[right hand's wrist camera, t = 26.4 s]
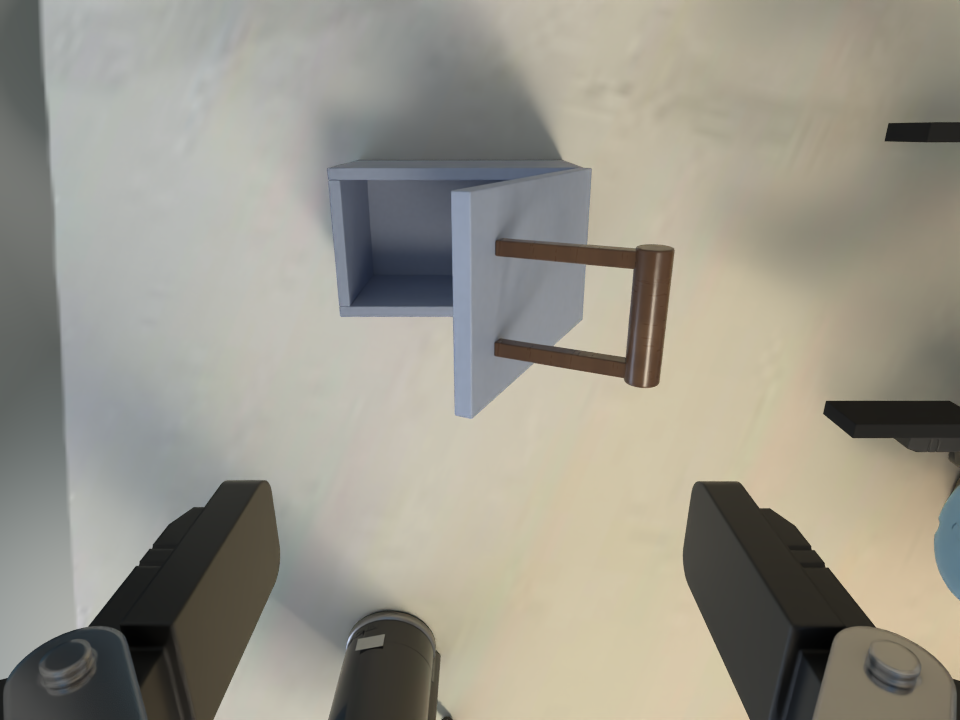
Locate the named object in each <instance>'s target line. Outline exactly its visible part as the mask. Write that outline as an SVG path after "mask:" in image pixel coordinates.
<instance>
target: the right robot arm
mask: <svg viewBox="0 0 960 720" xmlns="http://www.w3.org/2000/svg"><path fill="white" fill-rule="evenodd" d="M279 564H280V546H279V539H278V532H277V525H276V518H275V511H274V504H273V497H272V491H271V487H270V485H269V483H268V482H267V481H265V480H226V481H224V482H223V483H222V484H221V485H220V486H219V488H218V489H217V491H216V492H215V493H214V495H213V496H212V497H211V499H210V500H209V502H208V503H207V504H206V506H205V507H193V508H192V509H191V510H189V511H188V512H186V513H185V514H183V515H182V516H180V517H179V518H178V519H176V520H175V521H173V522H172V523H170V524H169V525H168V526H167V528H166V529H165V530H164V531H163V533H162V534H161V535H160V536H159V538H158V539H157V540H156V541H155V543H154V544H153V548H152V549H149V550H148V552H147V553H146V554H145V555H144V557H143V558H142V559H141V561H140V564H139V566H136V567H135V568H134V569H133V571H132V572H131V573H130V574H129V576H128V577H127V578H126V580H125V581H124V582H123V583H122V585H121V586H120V587H119V588H118V590H117V591H116V592H115V593H114V595H113V596H112V597H111V599H110V600H109V601H108V602H107V604H106V605H105V606H104V607H103V609H102V610H101V611H100V612H99V614H98V615H97V616H96V618H95V619H94V620H93V621H92V623H91V624H90V625H89V626H88V627H85V628H81V629H77V630H73V631H70V632H67V633H65V634H62V635H60V636H58V637H55V638H53V639H51V640H50V641H48V642H46V643H44V644H42V645H41V646H39V647H38V648H36V649H35V650H34V651H32V652H31V653H30V654H28V655H27V656H26V657H25V658H24V659H23V660H22V661H21V662H20V663H19V664H18V665H17V666H16V667H15V668H14V670H13V671H12V672H11V674H10V675H9V677H8V678H6V679H2V680H0V720H213V719H214V717H215V715H216V713H217V710H218V708H219V706H220V704H221V701H222V699H223V697H224V695H225V693H226V690H227V688H228V686H229V684H230V682H231V679H232V677H233V675H234V673H235V671H236V668H237V666H238V664H239V662H240V660H241V657H242V655H243V653H244V651H245V648H246V646H247V644H248V642H249V640H250V637H251V635H252V633H253V631H254V629H255V626H256V624H257V622H258V620H259V618H260V615H261V613H262V611H263V609H264V606H265V604H266V602H267V600H268V598H269V595H270V593H271V591H272V589H273V587H274V584H275V582H276V579H277V575H278V571H279ZM683 565H684V572H685V576H686V580H687V583H688V585H689V588H690V590H691V592H692V594H693V596H694V599H695V601H696V603H697V605H698V607H699V609H700V612H701V614H702V616H703V618H704V620H705V623H706V625H707V627H708V629H709V631H710V633H711V636H712V638H713V640H714V642H715V644H716V647H717V649H718V651H719V653H720V655H721V657H722V660H723V662H724V664H725V666H726V668H727V671H728V673H729V675H730V677H731V679H732V681H733V684H734V686H735V688H736V690H737V692H738V695H739V697H740V699H741V701H742V703H743V705H744V708H745V710H746V712H747V714H748V716H749V719H750V720H960V681H958V680H955V679H952V677H951V675H950V674H949V672H948V671H947V670H946V668H945V667H944V666H943V665H942V664H941V663H940V662H939V661H938V660H937V659H936V658H935V657H934V656H933V655H932V654H930V653H929V652H928V651H926V650H925V649H924V648H922V647H921V646H919V645H918V644H916V643H914V642H912V641H910V640H909V639H907V638H905V637H902V636H900V635H898V634H896V633H893V632H890V631H887V630H883V629H879V628H876V627H875V626H874V624H873V623H872V622H871V621H870V619H869V618H868V617H867V616H866V614H865V613H864V612H863V611H862V609H861V608H860V607H859V606H858V604H857V603H856V602H855V601H854V599H853V598H852V597H851V596H850V594H849V593H848V592H847V591H846V589H845V588H844V587H843V586H842V584H841V583H840V582H839V581H838V579H837V578H836V577H835V575H834V574H833V573H832V572H831V570H830V569H829V568H825V563H824V562H823V560H822V559H821V558H820V557H819V555H818V554H817V553H816V552H815V550H812V549H811V545H810V544H809V543H808V542H807V540H806V539H805V538H804V537H803V535H802V534H801V533H800V532H799V530H798V529H797V528H796V526H794V525H793V524H792V523H790V522H789V521H787V520H786V519H784V518H783V517H781V516H780V515H779V514H777V513H776V512H774V511H773V510H771V509H770V508H759V507H758V506H757V504H756V503H755V502H754V500H753V499H752V498H751V496H750V495H749V494H748V492H747V491H746V490H745V488H744V487H743V486H742V484H741V483H739V482H737V481H699V482H696V483H695V484H694V486H693V489H692V493H691V500H690V506H689V513H688V520H687V527H686V534H685V540H684V547H683ZM435 650H436V644H435V639H434V636H433V634H432V632H431V631H430V629H429V628H428V627H427V626H426V625H425V624H424V623H423V622H422V621H420V620H419V619H417V618H415V617H413V616H411V615H408V614H405V613H400V612H392V611H387V612H379V613H375V614H371V615H369V616H367V617H365V618H363V619H361V620H360V621H359V622H358V623H357V624H356V625H355V626H354V627H353V628H352V630H351V632H350V634H349V638H348V641H347V646H346V653H345V657H344V661H343V665H342V668H341V672H340V676H339V680H338V684H337V688H336V691H335V695H334V699H333V703H332V707H331V711H330V715H329V719H328V720H436V710H437V697H438V683H439V670H440V657H441V656H440V655H439V654H438V653H437V652H436V651H435ZM442 720H452V719H451V718H450V717H444V718H443V719H442Z"/></svg>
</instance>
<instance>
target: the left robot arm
mask: <svg viewBox="0 0 960 720" xmlns="http://www.w3.org/2000/svg"><path fill="white" fill-rule="evenodd" d="M885 141H897V142H960V122H928V123H889V124H888V128H887V133H886V137H885ZM823 414H824V415H825V416H827V417H828V418H829V419H830V420H831V421H833V422H834V423H835V424H836V425H837V426H839V427H840V428H841V429H842V430H844V431H845V432H846V433H847V434H848V435H850V436H851V437H852V438H894V439H895V440H897V441H898V442H900V443H901V444H902V445H904V446H905V447H906V448H908V449H910V450H913V451H915V452H927V451H928V452H935V451H936V452H949V454H948V458H949V460H950V461H951V462H952V463H954V464H955V465H956V466H958V467H959V468H960V407H959V406H958V405H956V404H954V403H952V402H951V401H826V404H825V408H824V412H823ZM939 522H940V524H939V528H938V530H937V532H936V533H935V538H934V551H935V558H936V563H937V566H938V569H939V572H940V574H941V576H942V578H943V580H944V582H945V583H946V585H947V587H948V588H949V590H950V591H951V592H952V593H953V594H954V595H955V596H956V597H957V598H958V599H959V600H960V478H959V479H958V481H957V483H956V486H955V488H954V491H953V492H952V494H951V495H950V497H949V498H948V500H947V501H946V503H945V505H944V507H943V509H942V511H941V513H940V516H939Z"/></svg>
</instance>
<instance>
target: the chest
mask: <svg viewBox="0 0 960 720" xmlns="http://www.w3.org/2000/svg"><path fill="white" fill-rule="evenodd" d="M575 168H583V167H580V166H577V165H575V164H572V163H569V162H566V161H564V160H357V161H354V162H349V163H345V164H341V165H337V166H333V167H329V168H328V169H327V170H328V179H329V181H328V182H329V193H330V205H331V216H332V228H333V239H334V250H335V262H336V273H337V285H338V296H339V306H340V307H339V308H340V316H341V317H453V274H452V218H451V191H452V190H457V189H463V188H468V187H474V186H480V185H485V184H491V183H497V182H502V181H508V180H513V179H519V178H525V177H530V176H536V175H542V174H547V173H553V172H558V171H564V170H570V169H575Z"/></svg>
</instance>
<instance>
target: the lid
mask: <svg viewBox="0 0 960 720" xmlns="http://www.w3.org/2000/svg"><path fill="white" fill-rule="evenodd" d="M591 173H592V169H591V168H575V169H570V170H564V171H558V172H553V173H547V174H542V175H536V176H530V177H525V178H519V179H513V180H508V181H502V182H497V183H491V184H485V185H480V186H474V187H468V188H463V189H457V190H452V191H451V218H452V274H453V331H454V387H455V415H456V416H461V417H465V418H470V419H472V418H473V417H474V416H476V415H477V414H478V413H479V412H480V411H481V410H482V409H483V408H485V407H486V406H487V405H488V404H489V403H490V402H491V401H492V400H493V399H495V398H496V397H497V396H498V395H499V394H500V393H501V392H502V391H503V390H505V389H506V388H507V387H508V386H509V385H510V384H511V383H512V382H513V381H515V380H516V379H517V378H518V377H519V376H520V375H521V374H522V373H523V372H525V371H526V370H527V369H528V368H529V367H530V366H531V365H532V364H533V363H538V364H544V365H550V366H556V367H562V368H567V369H573V370H579V371H585V372H591V373H597V374H603V375H609V376H615V377H621V378H624V381H625V382H626V383H627V384H629V385H631V386H635V387H640V388H651V387H655V386H657V385H658V384H659V381H660V373H661V364H662V355H663V347H664V338H665V329H666V321H667V312H668V303H669V294H670V286H671V277H672V268H673V260H674V248H672V247H669V246H665V245H652V244H649V245H640V246H637V247H636V249H635V248H622V247H610V246H597V245H587V237H588V221H589V205H590V189H591ZM586 265H596V266H607V267H618V268H629V269H634V273H633V284H632V295H631V306H630V317H629V328H628V339H627V350H626V358H625V357H619V356H612V355H606V354H599V353H593V352H586V351H580V350H573V349H567V348H560V347H554V346H553V345H555V344H556V343H557V342H558V341H559V340H560V339H561V338H562V337H563V336H565V335H566V334H567V333H568V332H569V331H570V330H571V329H572V328H573V327H575V326H576V325H577V324H578V323H579V322H580V321H581V320H582V317H583V301H584V285H585V269H586Z"/></svg>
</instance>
